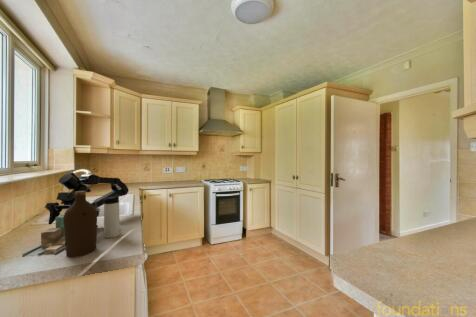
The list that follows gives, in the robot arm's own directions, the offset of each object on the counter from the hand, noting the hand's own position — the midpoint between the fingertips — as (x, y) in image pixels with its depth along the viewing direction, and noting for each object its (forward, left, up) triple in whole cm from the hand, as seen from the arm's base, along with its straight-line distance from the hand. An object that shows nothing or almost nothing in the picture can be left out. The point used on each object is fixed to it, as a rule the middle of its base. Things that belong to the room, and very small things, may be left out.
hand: (60, 223), depth 92 cm
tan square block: (-5, +7, -7) cm, 11 cm away
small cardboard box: (-4, +12, -7) cm, 15 cm away
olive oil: (-15, +16, -9) cm, 24 cm away
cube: (+1, +5, -6) cm, 8 cm away
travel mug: (-21, 0, -9) cm, 23 cm away
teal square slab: (0, +2, -7) cm, 8 cm away
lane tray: (-2, +5, -8) cm, 10 cm away
